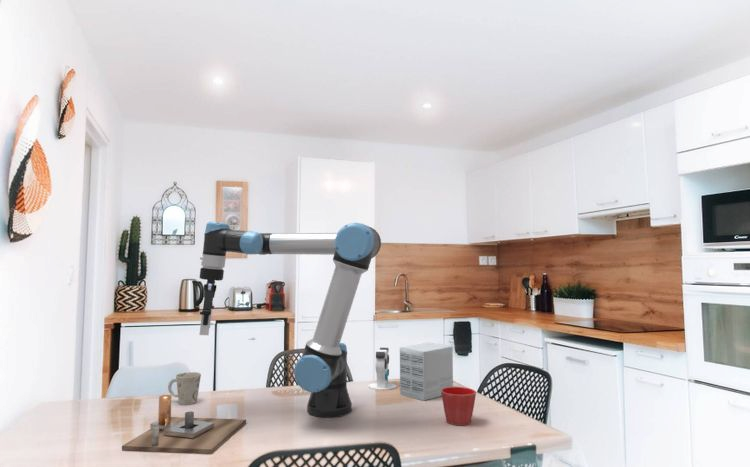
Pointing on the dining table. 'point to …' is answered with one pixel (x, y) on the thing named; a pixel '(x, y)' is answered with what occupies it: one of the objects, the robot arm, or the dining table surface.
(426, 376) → the gray vented cabinet
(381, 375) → the white grey upright piece
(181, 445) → the post board
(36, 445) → the dining table surface
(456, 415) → the flower pot
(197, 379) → the mug
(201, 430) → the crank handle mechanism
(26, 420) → the dining table surface
